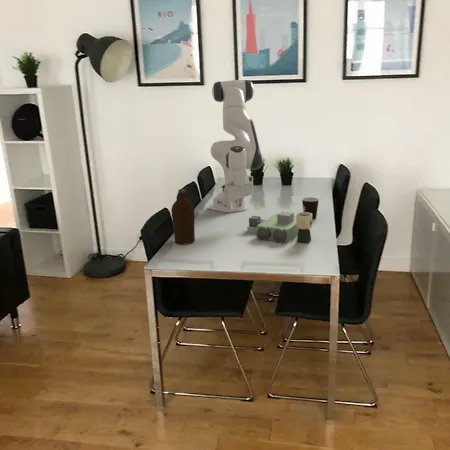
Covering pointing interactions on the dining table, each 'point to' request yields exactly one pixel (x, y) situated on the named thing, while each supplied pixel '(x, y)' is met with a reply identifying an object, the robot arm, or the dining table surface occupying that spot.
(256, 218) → the grey stepped block
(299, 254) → the dining table surface
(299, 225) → the character mug
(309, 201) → the coffee mug
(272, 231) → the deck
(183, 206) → the olive oil
